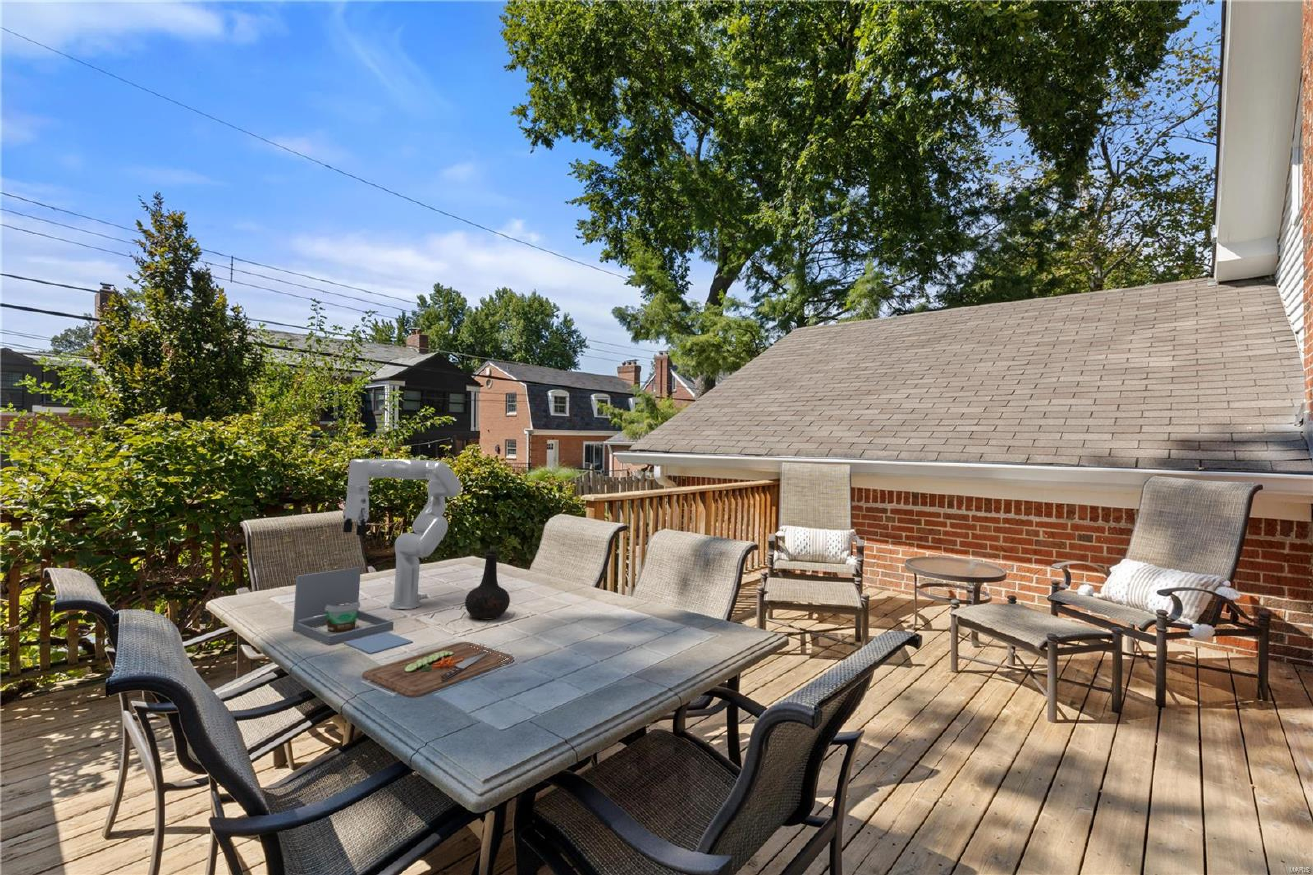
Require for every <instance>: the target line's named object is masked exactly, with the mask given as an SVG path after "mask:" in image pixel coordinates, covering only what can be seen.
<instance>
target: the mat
mask: <svg viewBox="0 0 1313 875" xmlns="http://www.w3.org/2000/svg"><path fill="white" fill-rule="evenodd" d="M412 643H414V641H413V640H411V639H408V638H406V637H402V636H400V635H396V634H393V633H391V632H389V631H386V632H382V633H377V634H373V635H369V636H365V637H361V638H357V639H353V640H349V641H345V642H343V644H344V645H346V646H348V647H350V648H354V649H355V650H359V651H361V652H363V653H365V654H369V655H373V654H378V653H380V652H383V651H388V650H390V649H394V648H398V647H401V646H405V645H409V644H412Z"/></svg>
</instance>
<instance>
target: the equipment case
mask: <svg viewBox="0 0 1313 875" xmlns="http://www.w3.org/2000/svg"><path fill="white" fill-rule="evenodd" d="M361 568H362V567H361V566H356V567H350V568H344V569H343V568H342V569H335V570H329V571H320V572H314V573H313V572H312V573H307V574H301V575H296V578H295V591H294V592H295V593H294V607H293V621H292V622H293V624H292V631H293V630H294V631H293V632H296V633H298V632H299V633H298V634H300V633H301V635H303V636H306V637H307V638H310V639H313V640H315V641H318V642H320V641H321V642H320V643H323V644H325V645H327V646H332V645H336V644H340V643H344V642H348V641H352V640H356V639H360V638H364V637H368V636H372V635H376V634H380V633H384V632H389V631H392V630H394V625H395V624H394V621H392V620H390V619H387V618H383V617H381V616H378V615H374V614H372V613H369V612H366V611H363V610H360V609H358V611H357V617H356V619H357V618H358V620H361V621H363V622H366V623H370V624H372V625H371V626H365V627H362V628H357V629H353V630H351V631H347V632H338V633H334V634H332V635H331V634H329V633H326V632H323V631H322V630H321V631H320V630H319V629H316V628H318V627H322V626H327V611H325V608H326V606H327V605H331V606H335V605H338V604H342V603H353V602H357V599H358V600H359V601H360V585H361V572H362V569H361ZM312 627H314V628H312Z"/></svg>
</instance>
